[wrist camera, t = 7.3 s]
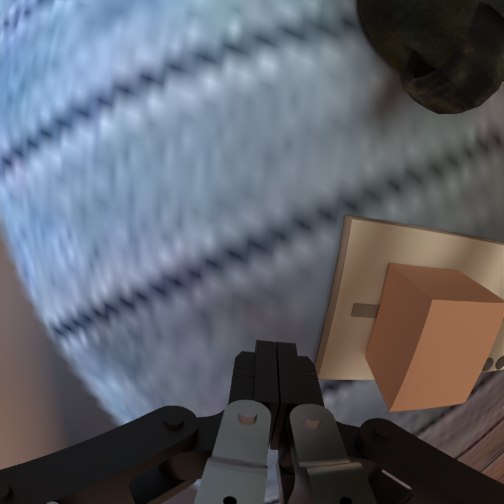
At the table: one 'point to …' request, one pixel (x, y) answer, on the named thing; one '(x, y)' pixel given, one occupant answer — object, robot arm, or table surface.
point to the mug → (441, 48)
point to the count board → (374, 277)
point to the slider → (431, 336)
